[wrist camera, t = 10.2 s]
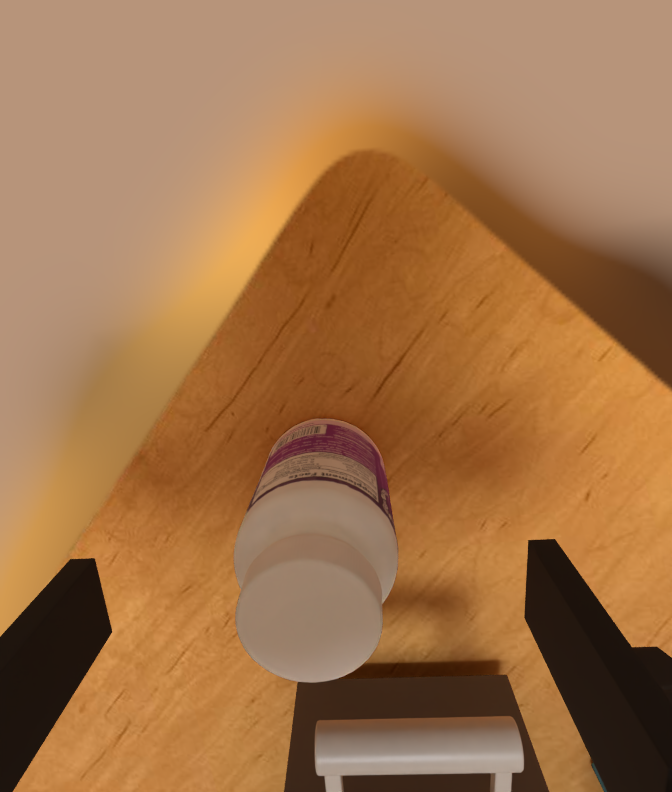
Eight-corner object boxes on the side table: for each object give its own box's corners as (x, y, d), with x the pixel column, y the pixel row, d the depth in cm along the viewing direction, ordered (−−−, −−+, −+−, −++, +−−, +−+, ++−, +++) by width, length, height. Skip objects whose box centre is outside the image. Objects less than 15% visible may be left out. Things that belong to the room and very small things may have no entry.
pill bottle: (367, 533, 23) (377, 724, 14) (257, 506, 23) (192, 682, 14) (399, 429, 22) (435, 568, 12) (282, 400, 21) (229, 517, 12)
